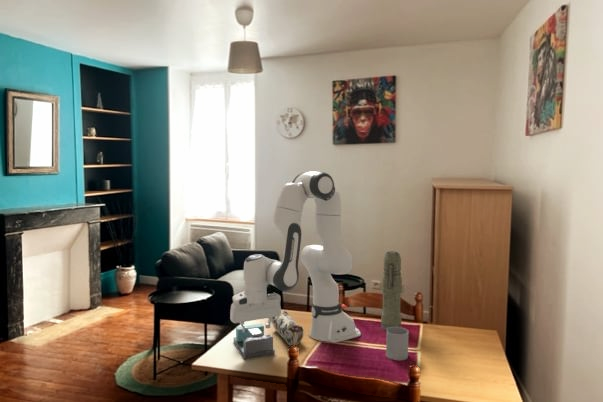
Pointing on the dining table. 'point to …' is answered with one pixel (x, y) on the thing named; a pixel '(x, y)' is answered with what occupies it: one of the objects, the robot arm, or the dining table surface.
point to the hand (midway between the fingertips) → (256, 329)
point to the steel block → (254, 332)
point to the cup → (397, 343)
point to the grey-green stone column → (391, 291)
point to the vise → (255, 347)
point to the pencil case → (288, 328)
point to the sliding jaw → (241, 335)
